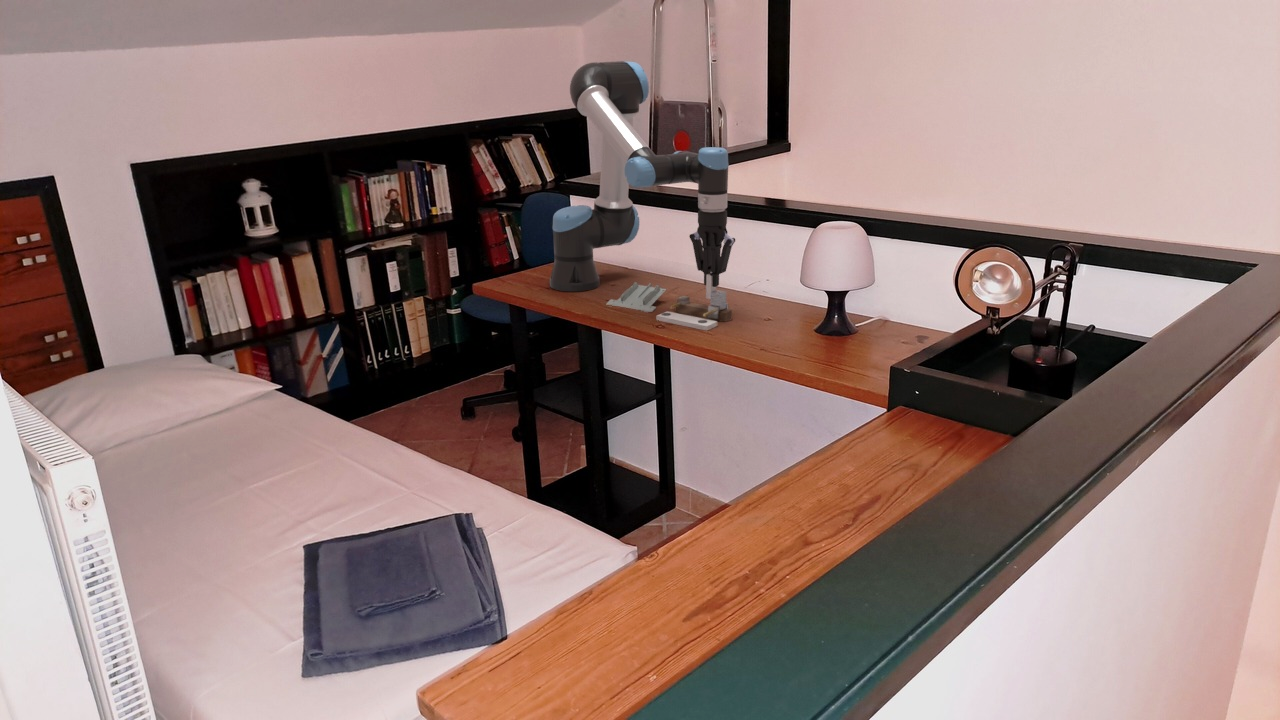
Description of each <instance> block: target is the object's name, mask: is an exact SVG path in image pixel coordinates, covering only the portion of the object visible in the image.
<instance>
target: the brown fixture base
mask: <svg viewBox="0 0 1280 720" xmlns="http://www.w3.org/2000/svg"><path fill="white" fill-rule="evenodd" d="M669 306H670V307H669V309H672V310H673V309H674V308H675V313H678V314H683V315H688V316H693V317H698V318H703V319H708V320H713V321H717V322H724V323H726V322H728V321H731V320H732V314H733V309H729V308H728V309H723V310H720V311H719V319H715V318H710V317H708V316H706V317H704V316H703V314H705V313H707V312H708V306H709V305H706V304H700V303H697V302H696V303H695V302H690V296H687V295H682V296H680V297H677V298H676V302H675V303H674V304H672V305H669Z"/></svg>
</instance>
